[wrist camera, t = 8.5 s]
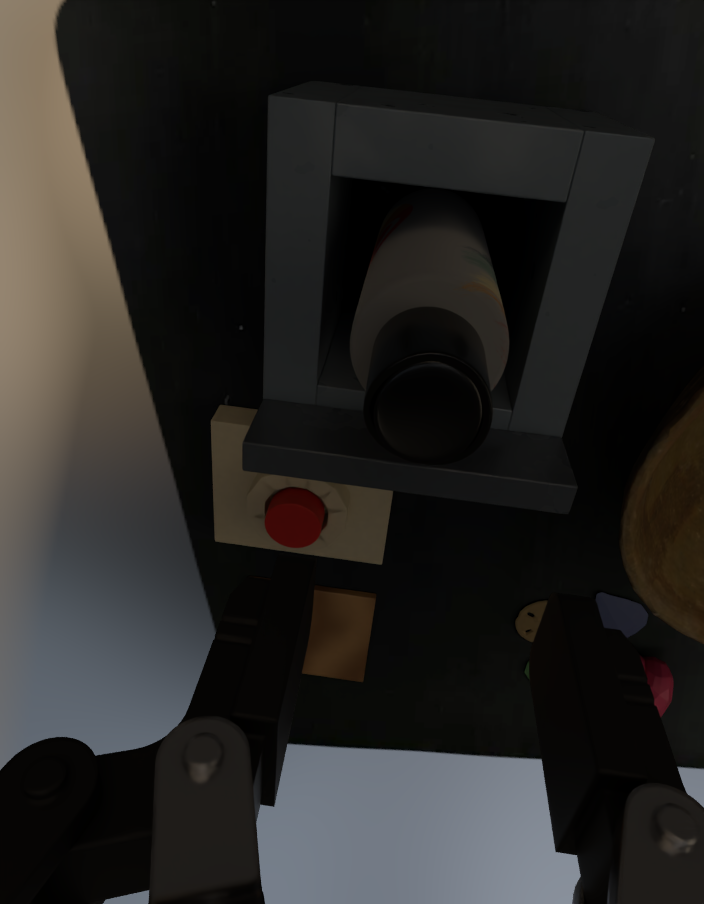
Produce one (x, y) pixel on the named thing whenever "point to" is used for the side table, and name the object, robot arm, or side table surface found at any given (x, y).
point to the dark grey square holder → (524, 298)
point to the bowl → (669, 516)
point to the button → (294, 517)
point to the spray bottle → (430, 331)
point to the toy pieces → (613, 616)
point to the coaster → (339, 633)
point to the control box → (249, 493)
